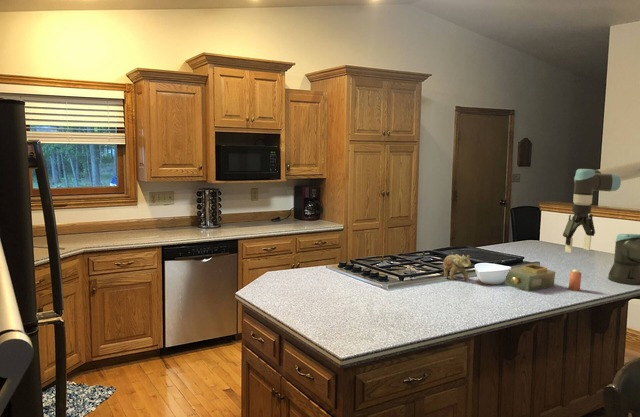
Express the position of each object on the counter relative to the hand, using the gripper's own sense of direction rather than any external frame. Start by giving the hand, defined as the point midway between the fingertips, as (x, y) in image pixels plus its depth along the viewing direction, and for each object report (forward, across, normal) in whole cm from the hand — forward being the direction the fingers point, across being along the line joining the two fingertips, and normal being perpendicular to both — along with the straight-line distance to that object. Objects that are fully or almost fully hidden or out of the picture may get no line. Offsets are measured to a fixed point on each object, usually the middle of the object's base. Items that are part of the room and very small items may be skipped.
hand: (577, 250), depth 239 cm
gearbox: (+18, +14, -14) cm, 27 cm away
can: (+18, 0, 0) cm, 18 cm away
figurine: (+18, +36, -38) cm, 55 cm away
